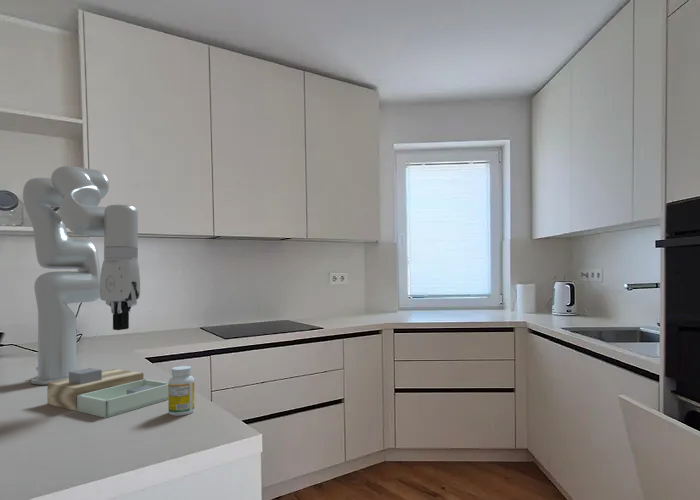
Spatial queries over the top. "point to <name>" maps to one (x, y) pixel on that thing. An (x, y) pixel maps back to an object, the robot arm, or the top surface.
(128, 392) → the tile
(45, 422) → the top surface
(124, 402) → the tray
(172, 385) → the supplement bottle
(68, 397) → the board
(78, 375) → the tile
